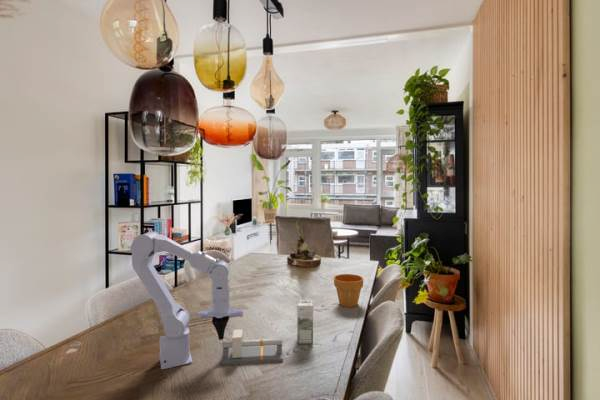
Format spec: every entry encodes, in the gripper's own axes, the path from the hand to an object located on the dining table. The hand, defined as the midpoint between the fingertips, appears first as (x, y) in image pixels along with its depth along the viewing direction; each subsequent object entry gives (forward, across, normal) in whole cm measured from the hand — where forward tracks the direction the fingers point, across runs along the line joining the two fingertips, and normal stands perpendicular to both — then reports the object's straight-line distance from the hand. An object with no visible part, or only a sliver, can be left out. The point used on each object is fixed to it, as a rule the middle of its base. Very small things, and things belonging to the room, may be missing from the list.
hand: (221, 338), depth 111 cm
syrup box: (+7, +29, +9) cm, 32 cm away
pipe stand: (+7, +10, 0) cm, 12 cm away
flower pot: (+7, +55, +46) cm, 72 cm away
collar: (+5, +5, 0) cm, 8 cm away
